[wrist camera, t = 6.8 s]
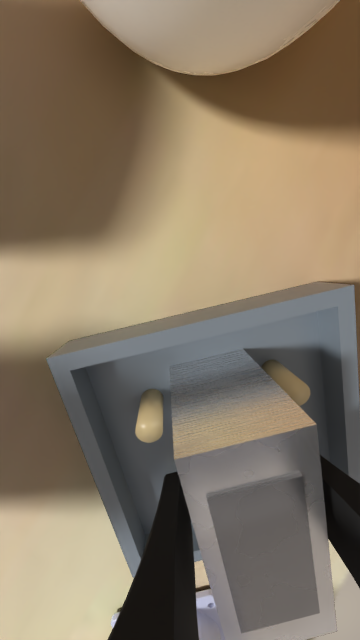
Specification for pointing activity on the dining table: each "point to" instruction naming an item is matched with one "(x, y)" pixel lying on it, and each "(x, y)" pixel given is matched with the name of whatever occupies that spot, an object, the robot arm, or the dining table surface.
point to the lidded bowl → (207, 30)
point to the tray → (191, 344)
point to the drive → (253, 498)
